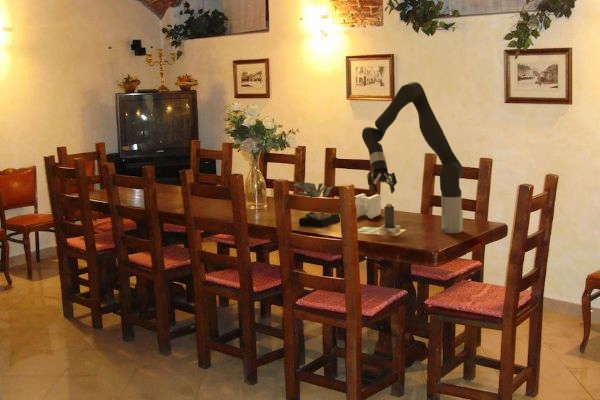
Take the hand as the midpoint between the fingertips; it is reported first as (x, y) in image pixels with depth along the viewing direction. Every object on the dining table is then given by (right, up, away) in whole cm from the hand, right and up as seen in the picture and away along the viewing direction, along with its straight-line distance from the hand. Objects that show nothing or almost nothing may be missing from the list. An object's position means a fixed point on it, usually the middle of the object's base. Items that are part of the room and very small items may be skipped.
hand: (384, 192), depth 359 cm
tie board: (-3, -20, -3) cm, 20 cm away
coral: (-33, -16, +28) cm, 46 cm away
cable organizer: (-4, -13, +40) cm, 42 cm away
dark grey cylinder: (+2, -19, -5) cm, 19 cm away
